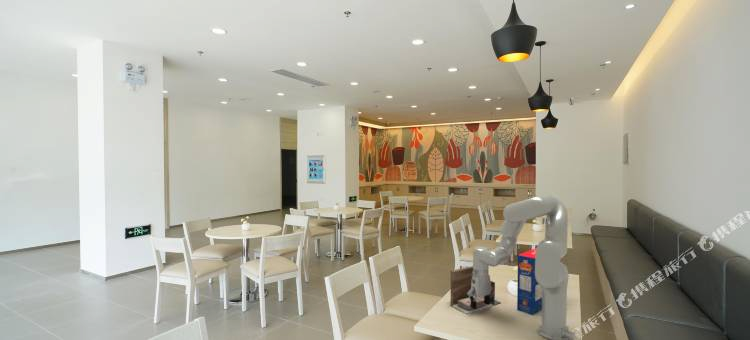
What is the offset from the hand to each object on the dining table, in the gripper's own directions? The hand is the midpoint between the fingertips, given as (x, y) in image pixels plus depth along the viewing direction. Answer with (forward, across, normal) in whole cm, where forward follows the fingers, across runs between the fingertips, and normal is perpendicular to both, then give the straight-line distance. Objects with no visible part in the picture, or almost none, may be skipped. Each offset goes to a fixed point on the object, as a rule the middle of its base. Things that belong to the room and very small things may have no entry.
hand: (480, 306), depth 178 cm
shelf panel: (+2, +2, +12) cm, 12 cm away
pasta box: (+3, +31, -11) cm, 33 cm away
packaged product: (+3, 0, +5) cm, 6 cm away
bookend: (+2, +14, +6) cm, 15 cm away
